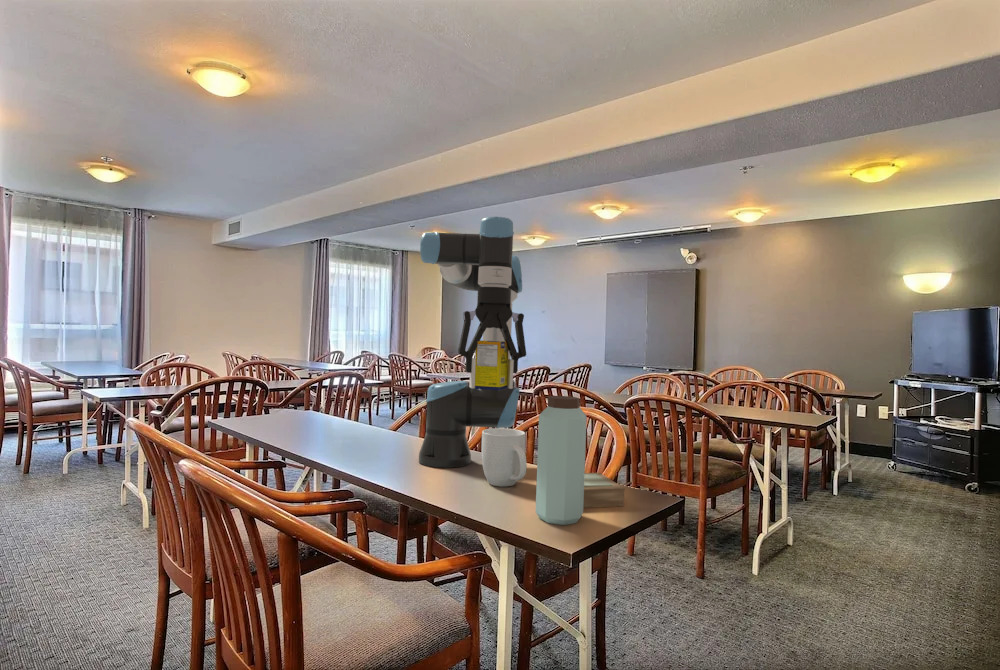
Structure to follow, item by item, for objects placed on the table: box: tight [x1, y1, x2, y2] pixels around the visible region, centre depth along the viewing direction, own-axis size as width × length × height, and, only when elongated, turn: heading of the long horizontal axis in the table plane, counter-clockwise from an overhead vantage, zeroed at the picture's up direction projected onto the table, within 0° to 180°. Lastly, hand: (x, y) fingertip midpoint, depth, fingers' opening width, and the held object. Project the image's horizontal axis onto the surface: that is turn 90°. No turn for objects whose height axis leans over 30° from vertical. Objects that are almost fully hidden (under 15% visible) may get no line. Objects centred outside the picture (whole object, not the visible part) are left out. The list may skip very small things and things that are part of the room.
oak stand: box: [583, 472, 625, 509], centre depth 130 cm, size 14×14×4 cm
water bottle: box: [535, 395, 588, 526], centre depth 115 cm, size 10×10×25 cm
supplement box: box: [474, 340, 508, 391], centre depth 125 cm, size 6×6×11 cm
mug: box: [481, 427, 528, 488], centre depth 138 cm, size 15×11×13 cm
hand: (490, 387), depth 125 cm, fingers closed on supplement box, 8 cm apart
